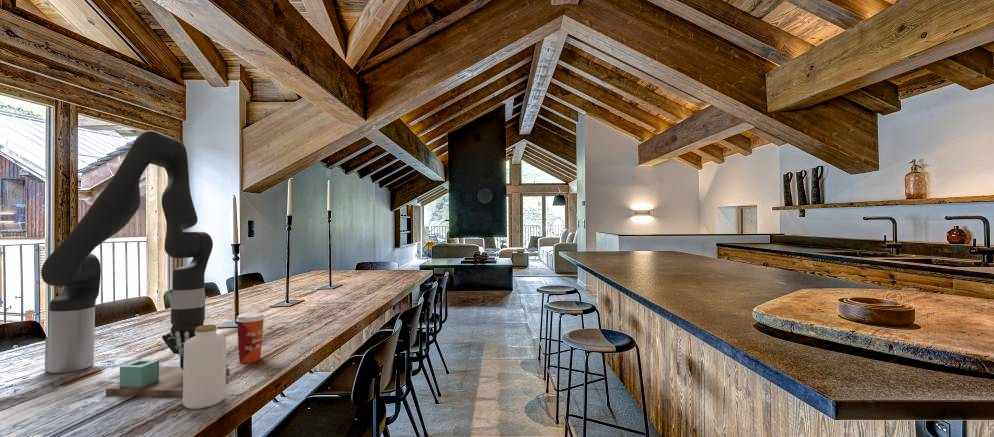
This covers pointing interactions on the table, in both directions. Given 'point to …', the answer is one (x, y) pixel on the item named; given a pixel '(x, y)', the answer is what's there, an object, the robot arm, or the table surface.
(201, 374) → the white plastic bottle
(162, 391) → the pin base
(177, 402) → the table surface
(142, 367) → the teal boxy piece
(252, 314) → the paper cup
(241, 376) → the table surface
